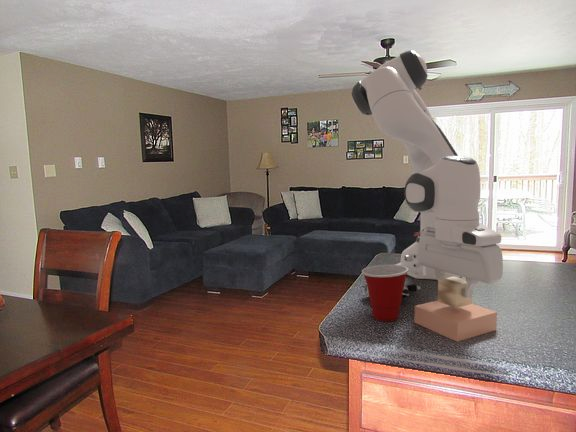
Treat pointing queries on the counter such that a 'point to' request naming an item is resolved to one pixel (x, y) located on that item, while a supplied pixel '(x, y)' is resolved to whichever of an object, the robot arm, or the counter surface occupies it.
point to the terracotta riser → (455, 320)
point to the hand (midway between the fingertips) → (454, 293)
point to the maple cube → (452, 292)
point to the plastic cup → (385, 290)
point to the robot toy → (405, 291)
